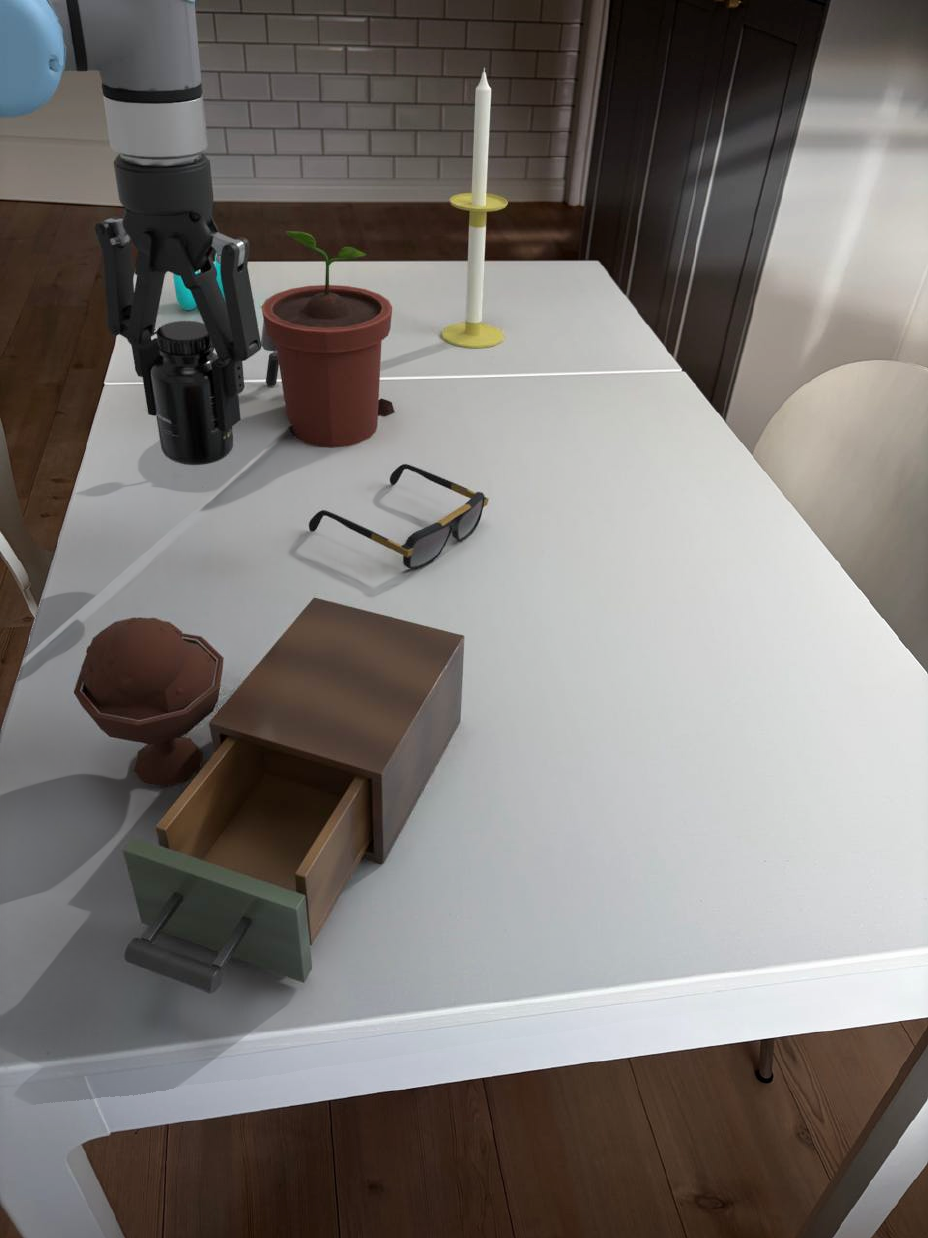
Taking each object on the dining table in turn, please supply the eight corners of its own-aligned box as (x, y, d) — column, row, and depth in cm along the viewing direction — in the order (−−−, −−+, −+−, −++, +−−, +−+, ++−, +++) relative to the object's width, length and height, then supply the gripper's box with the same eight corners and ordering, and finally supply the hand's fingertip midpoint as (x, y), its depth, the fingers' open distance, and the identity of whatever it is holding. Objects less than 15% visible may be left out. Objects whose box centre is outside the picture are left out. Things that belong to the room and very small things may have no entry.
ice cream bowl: (263, 746, 83) (245, 602, 74) (168, 834, 75) (135, 685, 66) (169, 700, 87) (141, 558, 78) (69, 778, 79) (25, 631, 70)
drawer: (265, 1054, 61) (253, 981, 56) (94, 987, 64) (69, 913, 59) (397, 815, 76) (397, 742, 72) (255, 771, 79) (245, 698, 75)
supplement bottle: (148, 461, 93) (128, 337, 86) (181, 429, 99) (165, 311, 91) (216, 472, 92) (201, 348, 85) (246, 440, 98) (234, 321, 90)
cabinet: (383, 864, 74) (381, 774, 68) (223, 812, 77) (208, 722, 71) (460, 721, 86) (464, 635, 80) (319, 682, 90) (313, 596, 84)
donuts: (181, 297, 165) (172, 236, 159) (242, 296, 167) (236, 235, 161) (178, 319, 157) (169, 255, 151) (242, 317, 159) (236, 254, 153)
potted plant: (254, 456, 123) (233, 250, 107) (266, 382, 140) (249, 196, 125) (397, 454, 124) (396, 251, 109) (392, 382, 141) (390, 198, 126)
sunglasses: (391, 483, 118) (390, 445, 115) (494, 527, 111) (496, 489, 108) (308, 531, 109) (306, 491, 106) (415, 582, 102) (415, 542, 99)
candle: (443, 322, 160) (449, 59, 138) (504, 325, 160) (521, 63, 138) (439, 346, 152) (445, 71, 130) (504, 349, 152) (521, 75, 130)
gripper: (293, 160, 80) (307, 421, 94) (86, 130, 85) (128, 382, 99) (246, 180, 74) (268, 455, 88) (27, 147, 79) (80, 412, 93)
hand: (194, 416), depth 93 cm, fingers closed on supplement bottle, 7 cm apart
